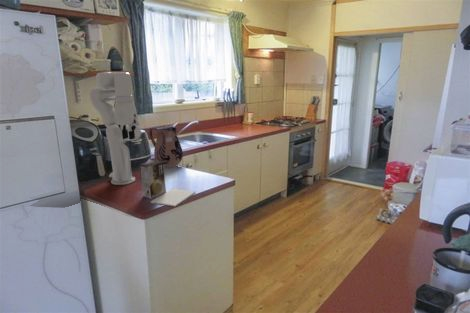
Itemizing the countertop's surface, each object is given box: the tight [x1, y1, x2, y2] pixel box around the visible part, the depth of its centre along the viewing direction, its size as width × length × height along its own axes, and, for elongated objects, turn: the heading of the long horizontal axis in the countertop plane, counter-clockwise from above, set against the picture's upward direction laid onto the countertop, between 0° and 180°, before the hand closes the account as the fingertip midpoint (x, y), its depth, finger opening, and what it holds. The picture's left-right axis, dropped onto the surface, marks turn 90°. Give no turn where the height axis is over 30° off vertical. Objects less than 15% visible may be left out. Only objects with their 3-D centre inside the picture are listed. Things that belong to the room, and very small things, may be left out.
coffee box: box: [139, 159, 167, 200], centre depth 155 cm, size 9×6×16 cm
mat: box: [150, 188, 197, 208], centre depth 152 cm, size 13×18×1 cm
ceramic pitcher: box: [148, 124, 184, 168], centre depth 203 cm, size 18×21×25 cm
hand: (128, 138), depth 155 cm, fingers open, 3 cm apart
